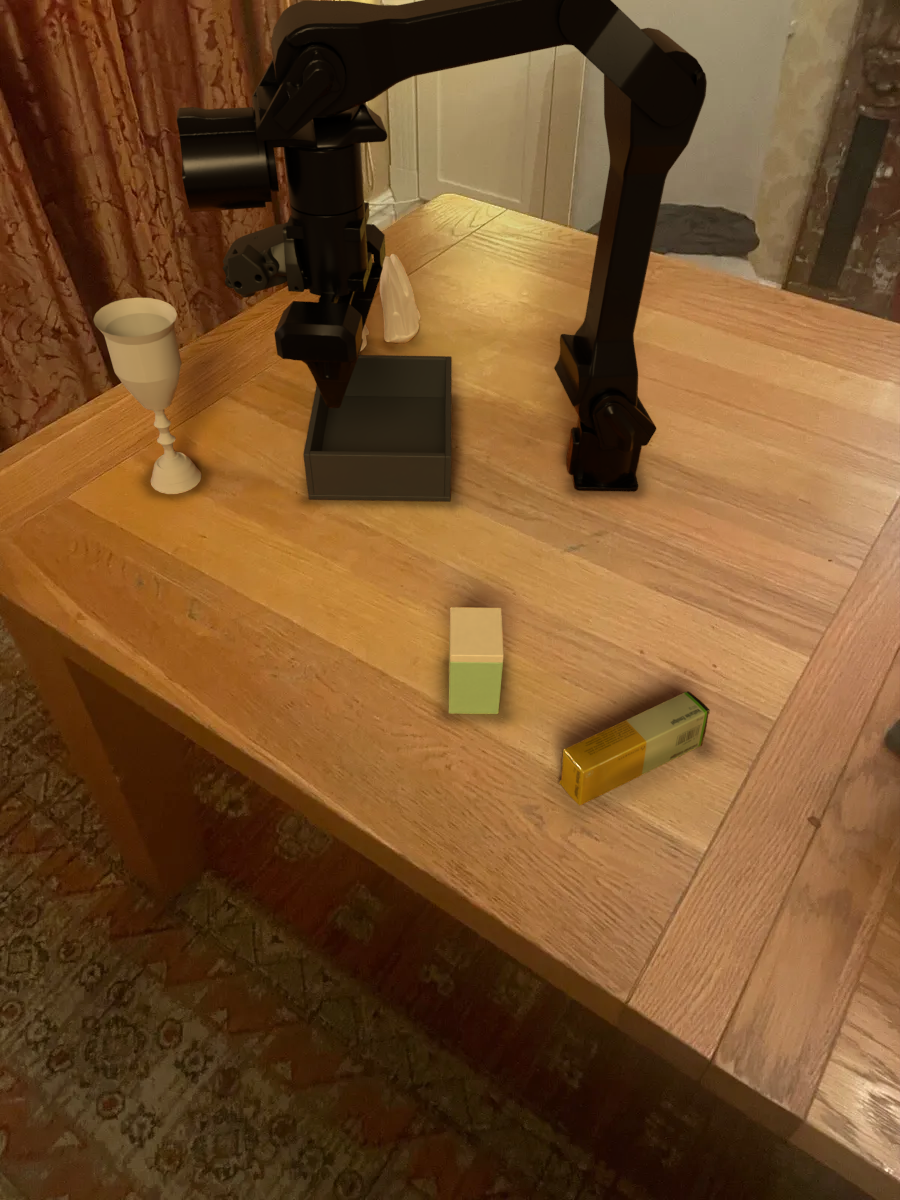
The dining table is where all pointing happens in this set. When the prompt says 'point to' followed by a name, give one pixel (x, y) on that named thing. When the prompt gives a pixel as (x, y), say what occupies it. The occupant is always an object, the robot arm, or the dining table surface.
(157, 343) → the chalice
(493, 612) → the juice carton
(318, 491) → the bin
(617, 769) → the medication box
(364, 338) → the shaker set
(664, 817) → the dining table surface
